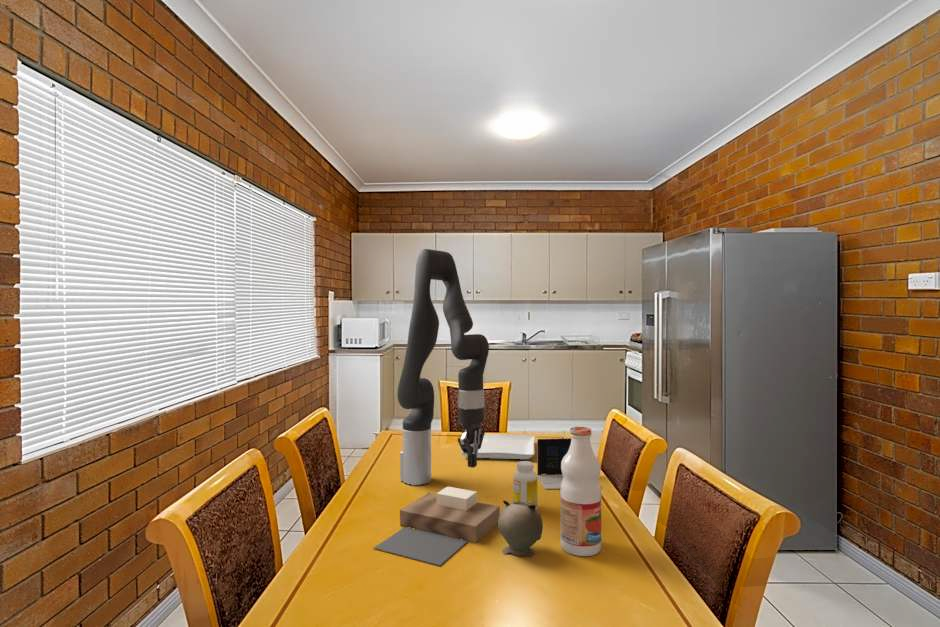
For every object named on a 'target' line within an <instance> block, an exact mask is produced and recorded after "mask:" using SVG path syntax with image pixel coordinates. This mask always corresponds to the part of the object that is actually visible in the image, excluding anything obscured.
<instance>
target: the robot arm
mask: <svg viewBox="0 0 940 627" xmlns="http://www.w3.org/2000/svg"><path fill="white" fill-rule="evenodd" d="M431 280H436V281H441V282H442V284H444V286H445V288H446V290H445V291H446V292H445V295H444V296H445V297H444V300H443V302H442V310H443V312H442V313H443V315H444V318H445V320H446V323H447V326H448V328H449V335H450V345H451V347H450V349H451V352H452V355H453V357H455V358H456V359H457V360H459V361H468V360H471V361H470V364H469V365H468V366H466V367H462V369H460V370H459V371H458V377H457V378H458V393H457V394H458V395H457V417H458V418H457V420H458V423H459V424H462V430H461V432H462V433H461V434H462V435H461V437H458V438H457V442H458V445H459V447H460V449H461V451H463V453H466V454H468V457H467V467H468V468H475V467H477V465H478V458H477V453H478V449H480V448H481V445H482V441H483V437H484V434H486V430H485V429H482V424H483V423H485V421H486V419H485V418H486V416H485V414H486V413H485V412H486V411H485V407H486V404H485V391H484V372H485V369H486V364H487V362H488V361H487V360H488V356H489V351H490V344H489V341H488V339H487V338H486V336H485V335H483V334H481V333H479V334H478V333H476V334H467V333H468V332H470V331H471V330H472V329H473V326H474V322H473V319H472V316H471V314H470V312H469V309H468V307H467V305H466V302H465V299H464V295H463V293H462V292H463V291H462V288H461V283H460V278H459V275H458V269H457V266H456V261H455V260H454V257H453V255H452V254H451V253H450V252H448V251H444V250H437V249H430V248H423V249H422V250H420V252H419V254H418V255H417V260H416V264H415V276H414V294H413V295H414V296H413V303H412V310H411V316H410V322H409V327H408V328H409V329H408V336H407V345H406V349H405V354H404V356H405V357H404V361H403V367H402V370H401V373H400V378H399V382H398V386H397V391H396V392H397V394H396V396H397V401H398V403H399V405H400V407H402V408H403V409H405V410H411V411H410V413H409V414H408V415H407V416H406V417H404V418H403V421H402V450H401V451H400V453H399V455H400V456H399V458H400V459H399V461H400V462H399V467H400V468H399V469H400V470H399V471H400V474H399V478H400V480H401V481H400V482H402V481H404V482H405V483H407V484H406V485H409V484H411V486H421V485H422V484H423V485H427V484H429V483H431V481H432V423H433V419H434V415H435V413H434V409H435V390H434V386H433V384H432V381H431V380H429V379H428V378H424V377H421V375H422V374H421V373H422V370H423V368H424V365H425V363H426V362H427V360H428V359H429V357H430V355H431V353H432V352H433V350H434V349H435V346H436V345H437V339H438V334H439V329H440V319H439V315H438V313H437V311H436V308H435V306H434V304H433V300H432V297H431V283H432V282H431ZM404 482H403V483H404ZM405 483H404V484H405ZM426 483H427V484H426Z"/></svg>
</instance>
